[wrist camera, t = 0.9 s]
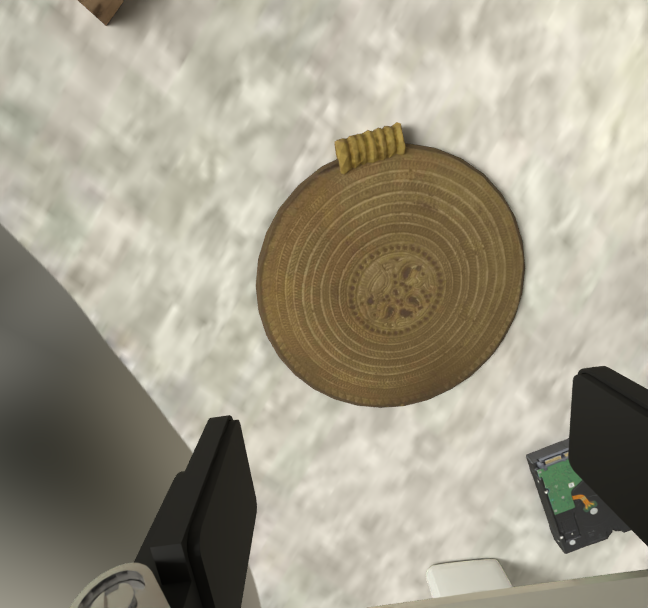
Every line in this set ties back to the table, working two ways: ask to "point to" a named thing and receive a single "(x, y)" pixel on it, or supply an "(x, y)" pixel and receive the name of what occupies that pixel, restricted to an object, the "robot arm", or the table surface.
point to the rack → (102, 8)
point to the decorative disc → (390, 272)
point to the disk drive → (570, 501)
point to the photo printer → (466, 577)
